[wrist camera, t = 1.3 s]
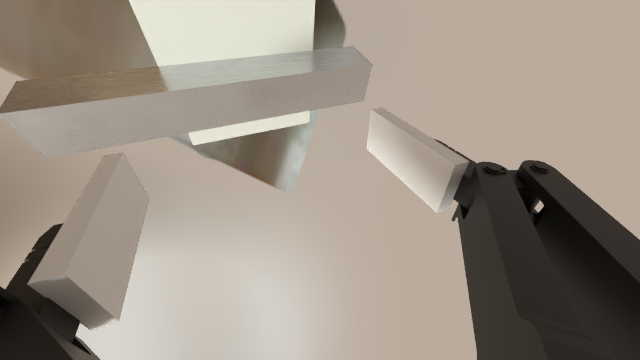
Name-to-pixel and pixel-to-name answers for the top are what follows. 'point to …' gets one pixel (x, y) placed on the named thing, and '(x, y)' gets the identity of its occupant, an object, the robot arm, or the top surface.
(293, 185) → the top surface
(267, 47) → the unit
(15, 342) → the robot arm
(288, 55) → the rail
